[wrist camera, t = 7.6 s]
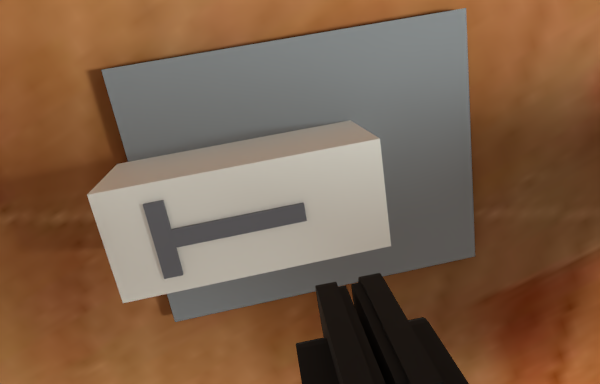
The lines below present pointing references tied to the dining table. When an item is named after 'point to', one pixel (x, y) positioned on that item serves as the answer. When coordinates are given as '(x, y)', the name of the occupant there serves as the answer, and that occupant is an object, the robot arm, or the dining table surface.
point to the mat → (316, 112)
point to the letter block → (241, 209)
